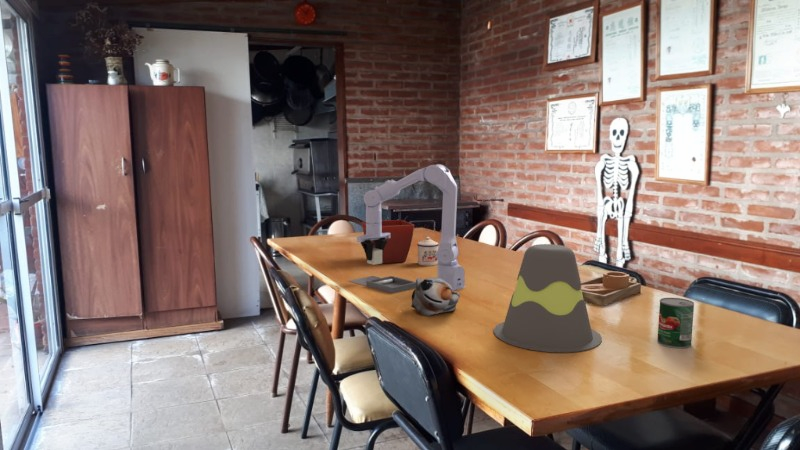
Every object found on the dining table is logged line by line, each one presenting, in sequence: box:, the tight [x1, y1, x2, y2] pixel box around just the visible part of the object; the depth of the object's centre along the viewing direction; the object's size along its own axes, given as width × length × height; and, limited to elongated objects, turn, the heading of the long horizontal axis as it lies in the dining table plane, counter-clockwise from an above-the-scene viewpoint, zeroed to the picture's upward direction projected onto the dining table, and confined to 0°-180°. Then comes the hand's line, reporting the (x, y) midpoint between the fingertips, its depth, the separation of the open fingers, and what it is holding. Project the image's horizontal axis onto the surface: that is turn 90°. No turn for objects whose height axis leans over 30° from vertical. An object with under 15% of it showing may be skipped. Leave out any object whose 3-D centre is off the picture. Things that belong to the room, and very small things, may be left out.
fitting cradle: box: [581, 275, 642, 306], centre depth 194 cm, size 15×25×3 cm, turn 132°
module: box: [366, 248, 383, 266], centre depth 210 cm, size 4×4×5 cm
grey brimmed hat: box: [493, 243, 603, 354], centre depth 151 cm, size 28×28×24 cm
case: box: [366, 275, 416, 294], centre depth 203 cm, size 14×12×2 cm
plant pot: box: [361, 219, 415, 264], centre depth 252 cm, size 19×19×17 cm
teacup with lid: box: [416, 236, 439, 267], centre depth 245 cm, size 12×9×12 cm
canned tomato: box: [656, 297, 695, 349], centre depth 145 cm, size 8×8×11 cm
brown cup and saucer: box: [581, 270, 630, 295], centre depth 194 cm, size 18×8×7 cm, turn 104°
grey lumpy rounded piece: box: [411, 277, 461, 317], centre depth 172 cm, size 15×12×14 cm
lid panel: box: [348, 275, 380, 287], centre depth 212 cm, size 11×12×1 cm
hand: (374, 259), depth 211 cm, fingers closed on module, 4 cm apart
